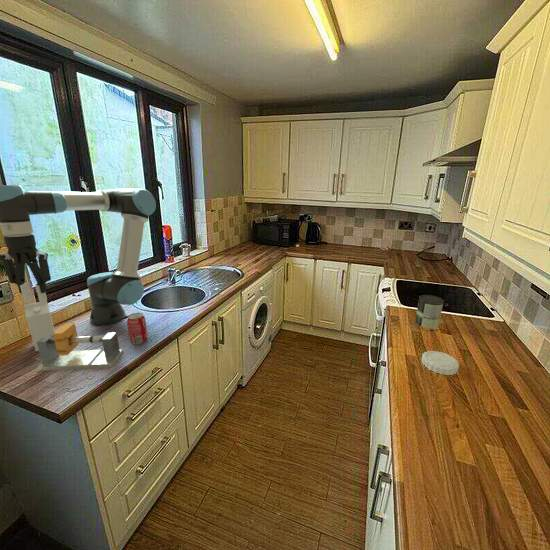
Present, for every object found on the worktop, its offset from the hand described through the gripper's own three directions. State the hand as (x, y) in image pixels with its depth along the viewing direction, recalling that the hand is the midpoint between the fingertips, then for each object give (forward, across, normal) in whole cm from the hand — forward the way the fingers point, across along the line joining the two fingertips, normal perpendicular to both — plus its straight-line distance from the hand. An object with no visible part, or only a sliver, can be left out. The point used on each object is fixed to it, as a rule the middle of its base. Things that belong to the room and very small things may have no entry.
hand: (36, 301), depth 99 cm
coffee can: (+25, +159, +16) cm, 162 cm away
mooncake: (+25, +144, -15) cm, 147 cm away
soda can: (+25, +27, +13) cm, 39 cm away
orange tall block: (+20, +7, 0) cm, 21 cm away
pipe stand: (+25, +11, 0) cm, 27 cm away
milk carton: (+25, -10, +13) cm, 30 cm away
